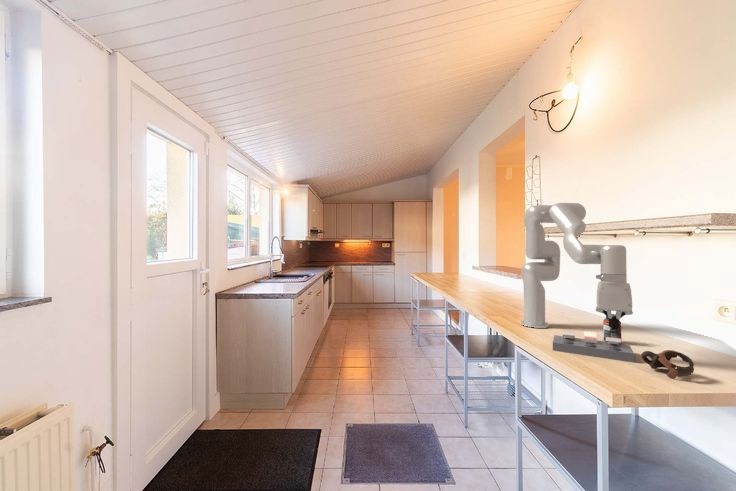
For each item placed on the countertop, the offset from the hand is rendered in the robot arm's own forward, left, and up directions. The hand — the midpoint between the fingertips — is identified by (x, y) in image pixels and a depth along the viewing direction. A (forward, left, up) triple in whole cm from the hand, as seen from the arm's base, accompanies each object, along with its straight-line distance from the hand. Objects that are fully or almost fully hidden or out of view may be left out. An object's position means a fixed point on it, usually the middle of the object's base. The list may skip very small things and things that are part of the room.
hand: (613, 329), depth 117 cm
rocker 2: (-2, 0, -6) cm, 6 cm away
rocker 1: (-2, -14, -6) cm, 15 cm away
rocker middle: (-3, -7, -6) cm, 10 cm away
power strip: (0, -7, -9) cm, 12 cm away
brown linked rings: (+13, +12, -10) cm, 20 cm away
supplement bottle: (-19, +1, -10) cm, 21 cm away
